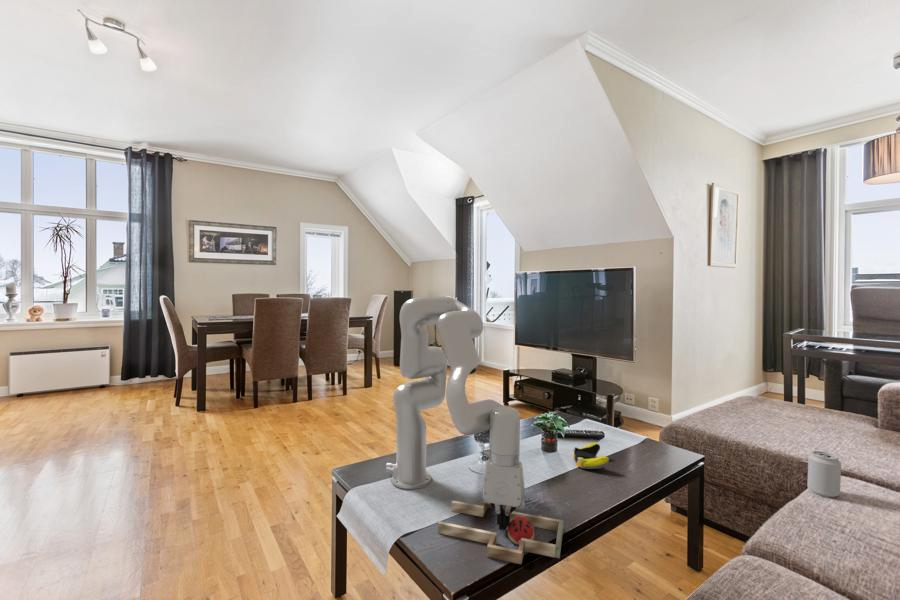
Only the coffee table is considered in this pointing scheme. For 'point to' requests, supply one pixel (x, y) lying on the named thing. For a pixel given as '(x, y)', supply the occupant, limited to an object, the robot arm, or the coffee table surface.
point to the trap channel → (491, 537)
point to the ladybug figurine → (520, 530)
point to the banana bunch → (589, 457)
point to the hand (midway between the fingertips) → (503, 527)
